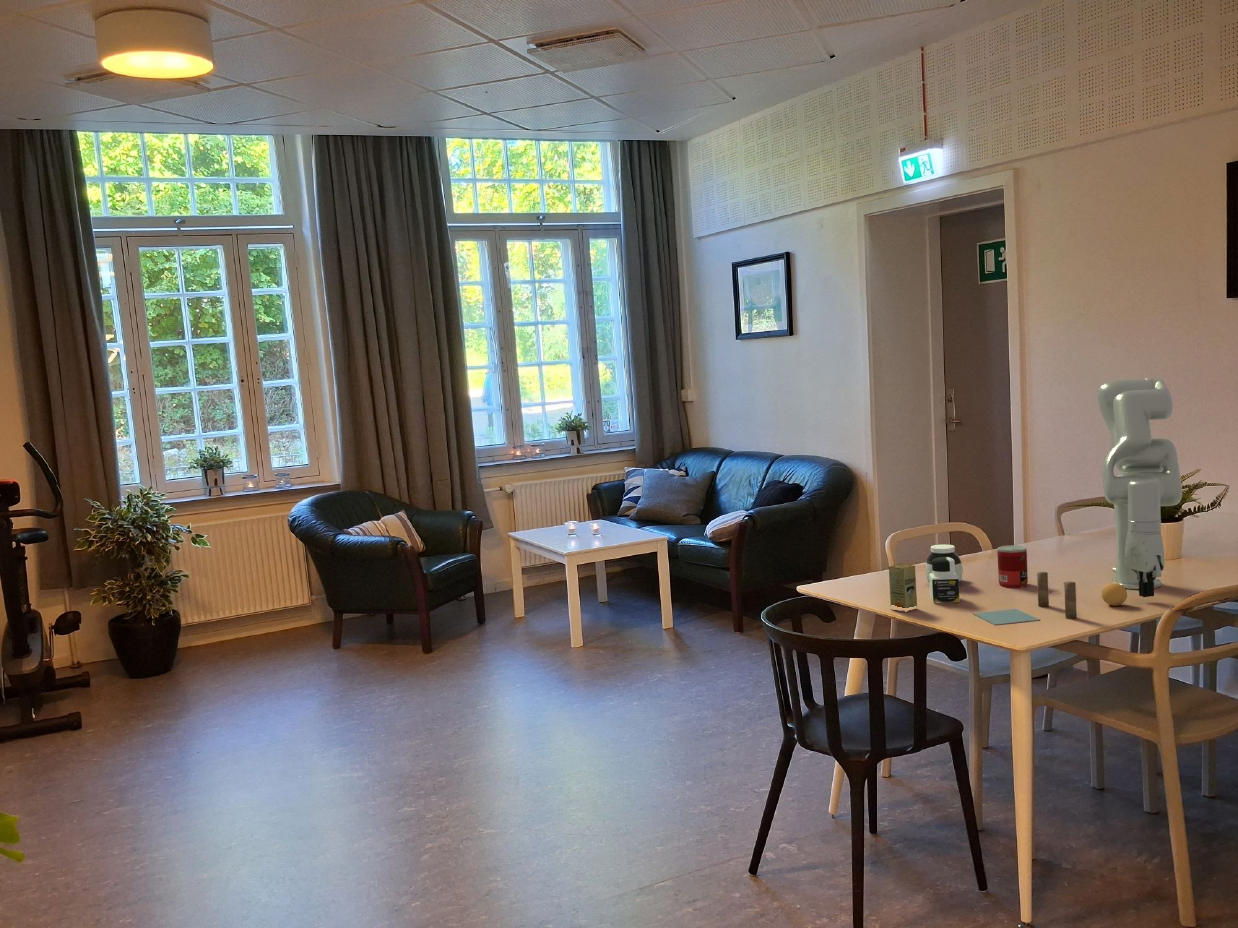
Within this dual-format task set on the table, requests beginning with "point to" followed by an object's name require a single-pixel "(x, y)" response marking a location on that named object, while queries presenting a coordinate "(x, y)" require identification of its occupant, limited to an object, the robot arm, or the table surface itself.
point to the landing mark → (1006, 616)
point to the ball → (1114, 594)
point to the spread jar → (944, 552)
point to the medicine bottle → (944, 581)
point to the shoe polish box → (902, 585)
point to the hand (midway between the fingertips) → (1146, 595)
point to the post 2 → (1070, 600)
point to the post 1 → (1042, 589)
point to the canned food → (1012, 566)
